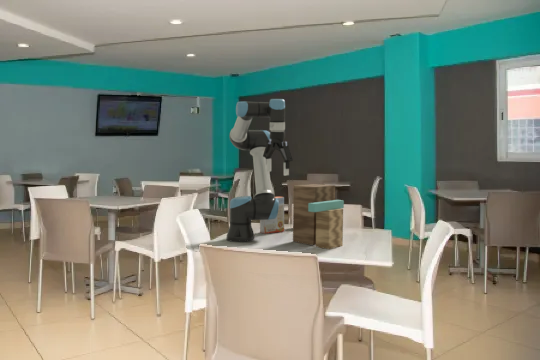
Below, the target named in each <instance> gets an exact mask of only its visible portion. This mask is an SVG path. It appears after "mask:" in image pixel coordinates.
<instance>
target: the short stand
mask: <svg viewBox="0 0 540 360" xmlns="http://www.w3.org/2000/svg"><path fill="white" fill-rule="evenodd" d="M343 227H344V208H341V209H334V210H327V211H320V212H316V245H315V247H316V248H321V249H325V248H326V250H330V248H331V249H335V248H338V247H343V241H344V240H343V236H344V235H343V234H344V231H343V230H344V229H343Z"/></svg>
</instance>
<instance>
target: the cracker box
mask: <svg viewBox="0 0 540 360" xmlns="http://www.w3.org/2000/svg"><path fill="white" fill-rule="evenodd" d="M275 198H278V200H279V209H278V214H277V217H276V218H275V219H270V220H259V233H261V234H264V235H266V234H267V235H268V234H275V233H284V232H285V197H284V196H275Z"/></svg>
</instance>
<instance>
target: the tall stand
mask: <svg viewBox="0 0 540 360" xmlns="http://www.w3.org/2000/svg"><path fill="white" fill-rule="evenodd" d="M292 189H293V194H292V195H293V198H292V199H293V202H292V204H293V205H292V206H293V207H292V208H293V209H292V211H293V212H292V213H293V214H292V243H299V244H303V245H311V246H316V212H309V211H308V203H315V202H323V201H332V200H336V185H333V184H332V185H331V184H320V183H317V184H316V183H310V184H297V185H296V184H295V185H293V188H292Z"/></svg>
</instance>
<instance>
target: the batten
mask: <svg viewBox="0 0 540 360" xmlns="http://www.w3.org/2000/svg"><path fill="white" fill-rule="evenodd" d="M344 205H345V201H344V200H343V199H342V200H341V199H335V200H332V201H323V202H315V203H308V211H309V212H320V211H327V210H334V209H344V208H345V207H344Z"/></svg>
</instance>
